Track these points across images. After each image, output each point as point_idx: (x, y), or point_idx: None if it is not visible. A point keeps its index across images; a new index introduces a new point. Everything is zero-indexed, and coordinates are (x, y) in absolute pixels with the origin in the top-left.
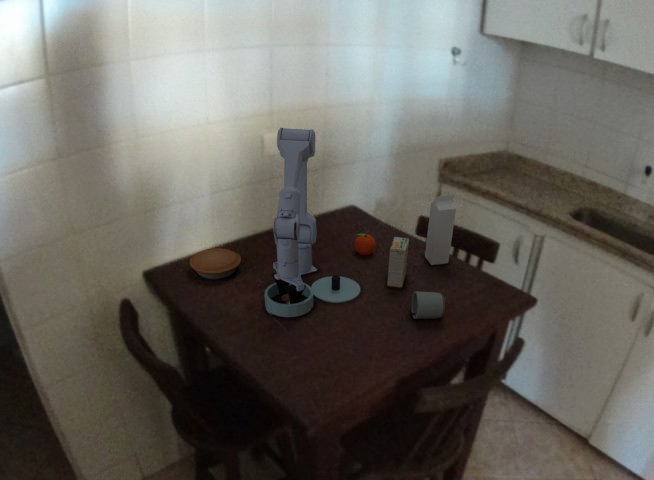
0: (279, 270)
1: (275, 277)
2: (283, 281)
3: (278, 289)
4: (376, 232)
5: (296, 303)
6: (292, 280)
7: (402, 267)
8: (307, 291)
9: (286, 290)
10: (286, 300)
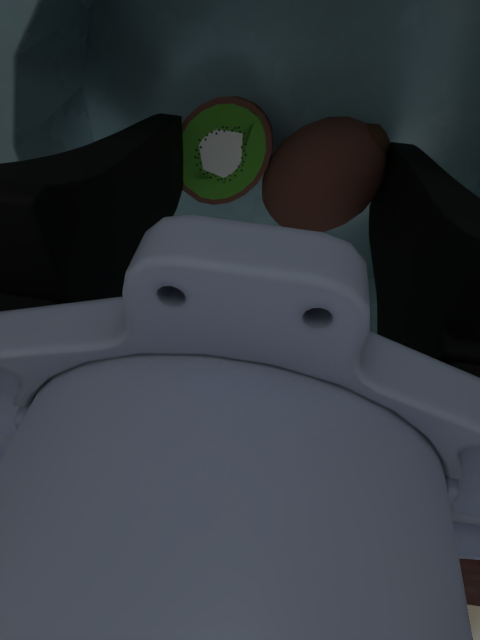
0: (147, 552)
1: (245, 245)
2: (407, 298)
3: (441, 176)
4: (465, 593)
5: (10, 152)
6: (3, 389)
7: None
8: None
9: (47, 179)
10: (289, 144)
